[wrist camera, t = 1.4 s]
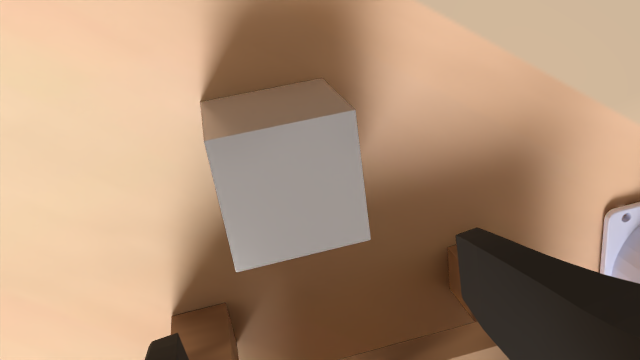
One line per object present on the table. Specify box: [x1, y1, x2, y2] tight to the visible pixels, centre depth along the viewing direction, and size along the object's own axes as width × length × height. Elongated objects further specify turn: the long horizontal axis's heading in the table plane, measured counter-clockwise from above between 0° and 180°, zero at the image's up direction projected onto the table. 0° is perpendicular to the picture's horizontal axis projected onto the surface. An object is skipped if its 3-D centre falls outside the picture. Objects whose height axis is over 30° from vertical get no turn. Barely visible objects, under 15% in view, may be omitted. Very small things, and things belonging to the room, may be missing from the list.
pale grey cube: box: [200, 78, 371, 272], centre depth 21 cm, size 5×5×5 cm
